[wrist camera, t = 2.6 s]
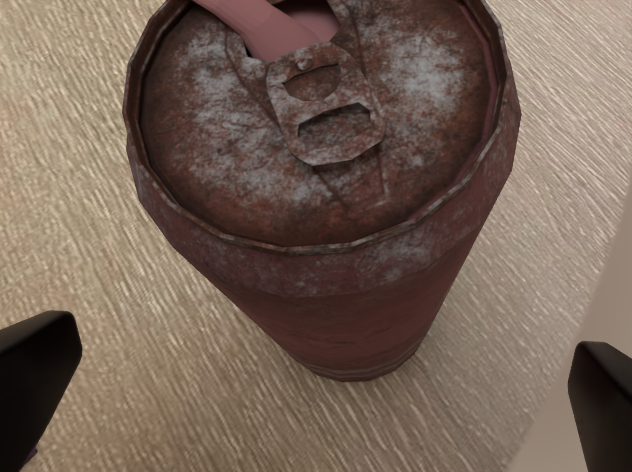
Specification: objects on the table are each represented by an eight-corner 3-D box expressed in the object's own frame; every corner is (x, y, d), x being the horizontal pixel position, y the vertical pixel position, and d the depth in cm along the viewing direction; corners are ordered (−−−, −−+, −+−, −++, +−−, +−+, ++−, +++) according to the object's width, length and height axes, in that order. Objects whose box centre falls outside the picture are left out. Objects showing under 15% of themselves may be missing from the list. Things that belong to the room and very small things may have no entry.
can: (325, 201, 22) (251, -143, 9) (459, 280, 20) (620, -6, 7) (238, 320, 20) (-4, 119, 7) (375, 417, 18) (376, 380, 5)
